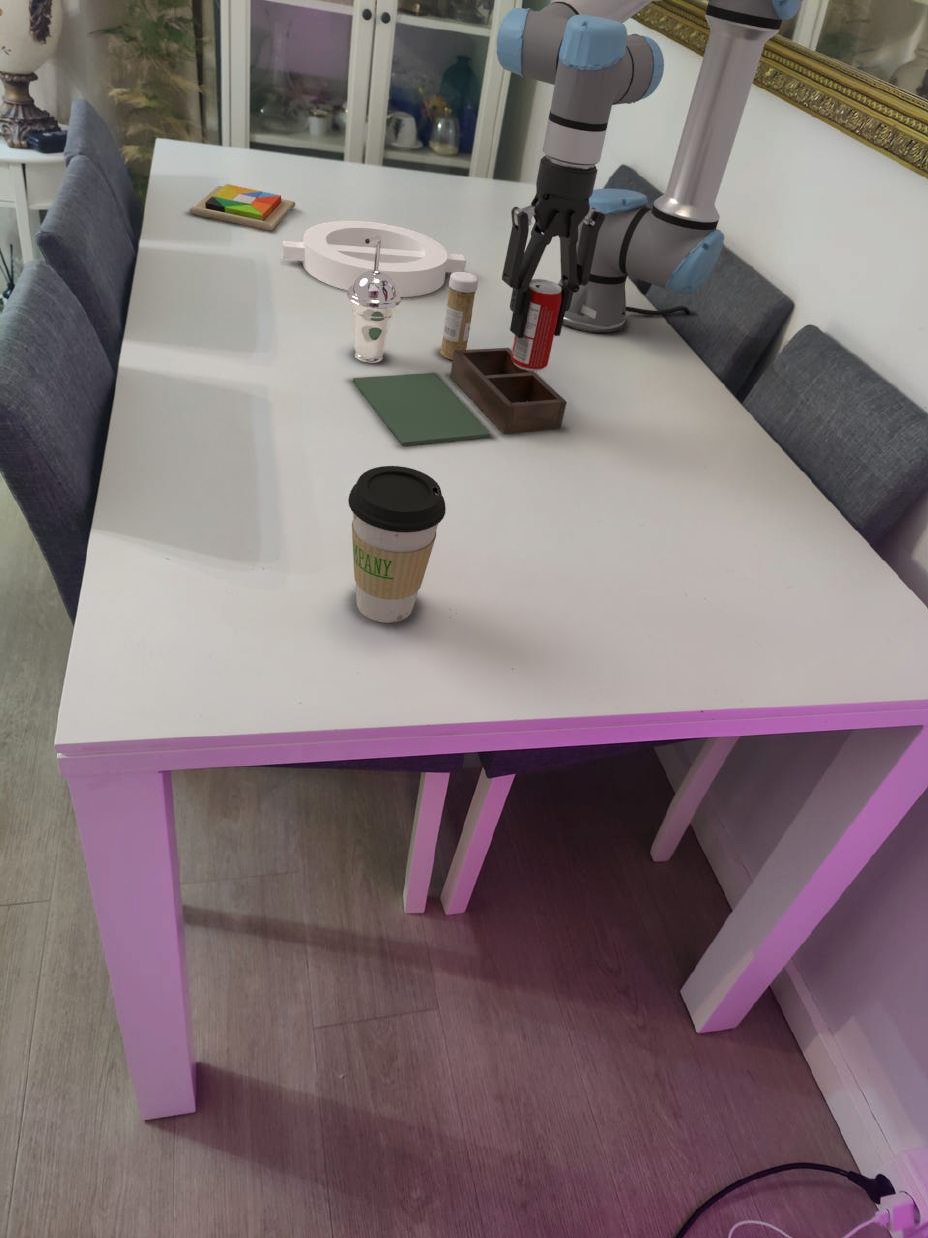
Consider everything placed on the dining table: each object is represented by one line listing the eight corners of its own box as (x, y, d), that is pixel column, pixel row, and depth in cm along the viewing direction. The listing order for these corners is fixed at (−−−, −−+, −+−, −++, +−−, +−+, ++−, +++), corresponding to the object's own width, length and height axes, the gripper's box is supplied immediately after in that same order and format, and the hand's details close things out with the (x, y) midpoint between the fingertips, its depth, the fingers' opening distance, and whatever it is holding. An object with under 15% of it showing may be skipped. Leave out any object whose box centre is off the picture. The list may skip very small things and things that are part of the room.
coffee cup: (340, 574, 102) (349, 458, 93) (426, 579, 104) (444, 466, 94) (339, 631, 95) (349, 511, 85) (432, 636, 96) (452, 519, 87)
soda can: (550, 362, 136) (568, 282, 128) (541, 375, 132) (559, 294, 124) (516, 352, 137) (531, 272, 129) (505, 365, 132) (520, 284, 125)
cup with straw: (405, 361, 148) (420, 235, 136) (364, 373, 142) (376, 243, 130) (370, 341, 152) (381, 217, 139) (329, 352, 146) (337, 224, 134)
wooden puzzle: (187, 216, 186) (186, 198, 184) (220, 193, 201) (220, 176, 198) (269, 233, 186) (269, 215, 183) (296, 209, 200) (297, 192, 198)
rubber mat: (434, 376, 146) (435, 372, 145) (490, 437, 132) (490, 433, 132) (352, 381, 140) (353, 377, 139) (402, 446, 127) (403, 442, 126)
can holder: (503, 373, 150) (508, 347, 148) (560, 428, 138) (567, 401, 135) (449, 376, 146) (453, 350, 143) (503, 434, 134) (509, 406, 131)
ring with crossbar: (470, 276, 184) (474, 252, 181) (390, 308, 164) (393, 282, 161) (360, 235, 193) (362, 212, 190) (272, 261, 173) (272, 236, 170)
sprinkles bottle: (471, 359, 153) (484, 280, 144) (448, 362, 150) (460, 281, 142) (456, 348, 155) (468, 269, 147) (434, 350, 153) (445, 271, 145)
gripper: (613, 153, 123) (575, 319, 137) (493, 148, 115) (467, 324, 130) (644, 170, 118) (601, 340, 132) (521, 166, 110) (490, 347, 125)
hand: (534, 332), depth 131 cm, fingers closed on soda can, 5 cm apart
